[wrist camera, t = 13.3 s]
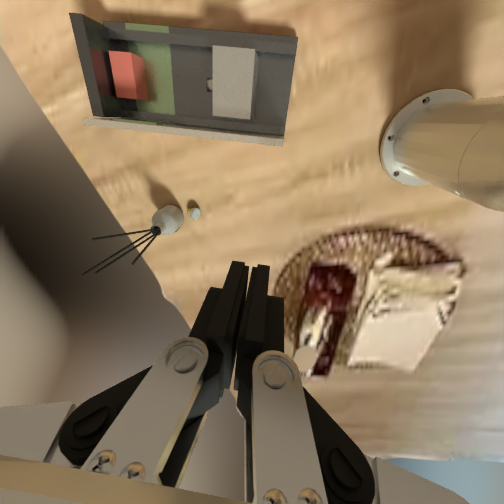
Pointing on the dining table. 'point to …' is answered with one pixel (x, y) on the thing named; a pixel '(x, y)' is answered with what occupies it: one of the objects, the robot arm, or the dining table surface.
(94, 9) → the dining table surface
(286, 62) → the grey compartment tray
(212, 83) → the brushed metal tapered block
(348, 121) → the dining table surface
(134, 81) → the salmon pink rectangular block
